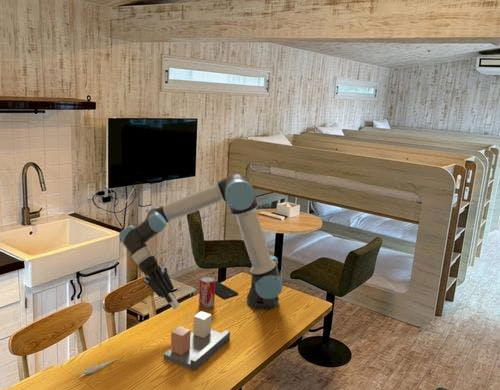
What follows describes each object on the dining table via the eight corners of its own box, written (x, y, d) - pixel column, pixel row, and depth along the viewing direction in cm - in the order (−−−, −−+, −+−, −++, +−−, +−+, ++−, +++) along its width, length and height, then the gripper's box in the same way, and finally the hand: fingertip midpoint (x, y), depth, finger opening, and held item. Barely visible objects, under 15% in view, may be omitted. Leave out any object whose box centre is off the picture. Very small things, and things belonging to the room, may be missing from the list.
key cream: (193, 334, 181) (193, 316, 179) (200, 329, 185) (200, 311, 183) (203, 338, 178) (204, 319, 176) (210, 332, 183) (211, 314, 181)
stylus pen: (80, 379, 154) (80, 374, 153) (76, 376, 155) (76, 371, 155) (119, 363, 165) (119, 358, 164) (115, 360, 167) (115, 355, 166)
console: (163, 358, 168) (163, 349, 167) (200, 330, 188) (200, 321, 187) (194, 371, 161) (195, 361, 160) (229, 340, 182) (230, 331, 181)
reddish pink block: (171, 351, 168) (171, 331, 167) (179, 345, 173) (179, 326, 171) (182, 355, 166) (182, 335, 164) (190, 349, 170) (190, 329, 169)
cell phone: (224, 299, 217) (224, 298, 216) (202, 286, 230) (202, 284, 229) (238, 295, 222) (238, 293, 222) (216, 282, 235) (216, 280, 235)
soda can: (205, 300, 215) (206, 274, 212) (217, 304, 211) (218, 278, 208) (195, 305, 209) (196, 279, 206) (207, 310, 205) (208, 283, 202)
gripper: (150, 259, 196) (181, 305, 192) (129, 269, 184) (161, 318, 181) (160, 250, 192) (191, 297, 188) (139, 260, 181) (172, 310, 177)
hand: (176, 307), depth 184 cm, fingers closed
